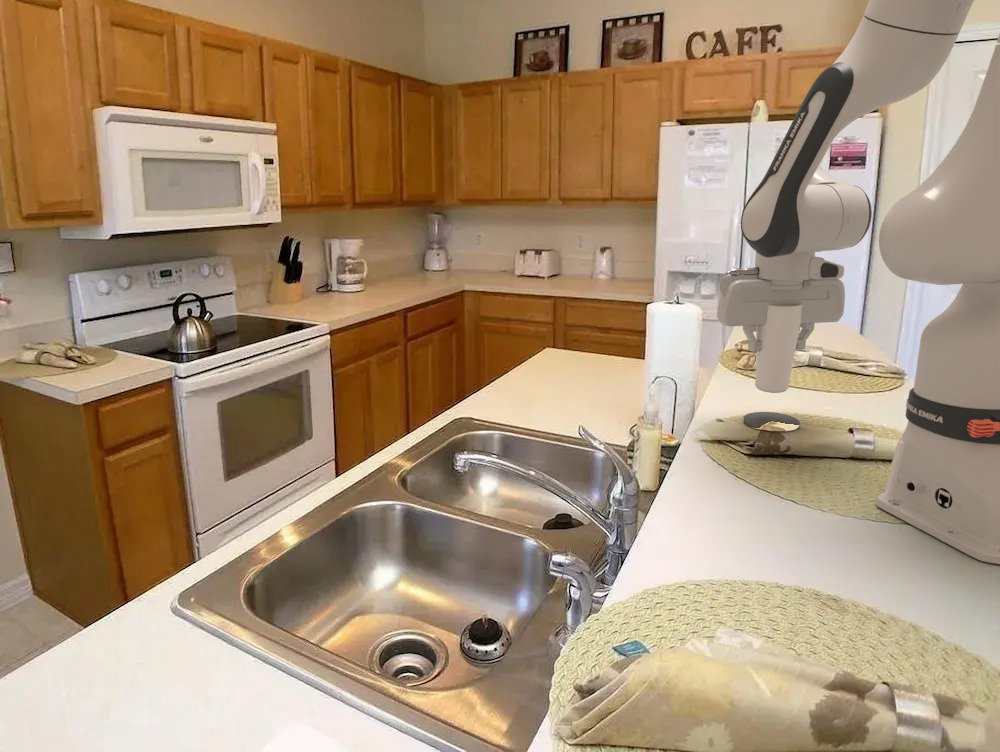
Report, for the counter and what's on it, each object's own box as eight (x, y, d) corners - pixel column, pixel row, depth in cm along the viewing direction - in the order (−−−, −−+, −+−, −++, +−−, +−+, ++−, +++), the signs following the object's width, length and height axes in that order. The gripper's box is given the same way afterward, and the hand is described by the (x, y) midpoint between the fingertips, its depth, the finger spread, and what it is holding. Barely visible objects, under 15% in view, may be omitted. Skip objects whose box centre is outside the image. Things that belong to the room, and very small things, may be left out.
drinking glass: (796, 396, 113) (806, 307, 108) (752, 394, 114) (761, 306, 110) (789, 383, 119) (798, 298, 114) (748, 381, 121) (756, 297, 116)
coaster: (810, 430, 114) (810, 427, 114) (757, 433, 113) (757, 430, 113) (783, 413, 122) (783, 410, 122) (734, 416, 122) (734, 413, 121)
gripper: (729, 271, 107) (723, 357, 111) (854, 266, 108) (844, 351, 112) (713, 266, 113) (708, 348, 117) (832, 262, 115) (823, 343, 118)
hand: (776, 350), depth 114 cm, fingers closed on drinking glass, 6 cm apart
